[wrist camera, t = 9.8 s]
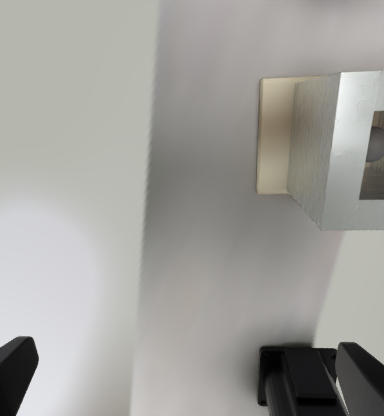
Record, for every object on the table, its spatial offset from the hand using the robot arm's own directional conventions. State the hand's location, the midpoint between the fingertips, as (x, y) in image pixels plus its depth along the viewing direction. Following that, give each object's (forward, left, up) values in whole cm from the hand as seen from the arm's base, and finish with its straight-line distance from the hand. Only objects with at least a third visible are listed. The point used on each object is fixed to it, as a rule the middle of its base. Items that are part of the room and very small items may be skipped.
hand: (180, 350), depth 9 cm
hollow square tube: (+4, -9, -12) cm, 16 cm away
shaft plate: (+4, -9, -13) cm, 16 cm away
